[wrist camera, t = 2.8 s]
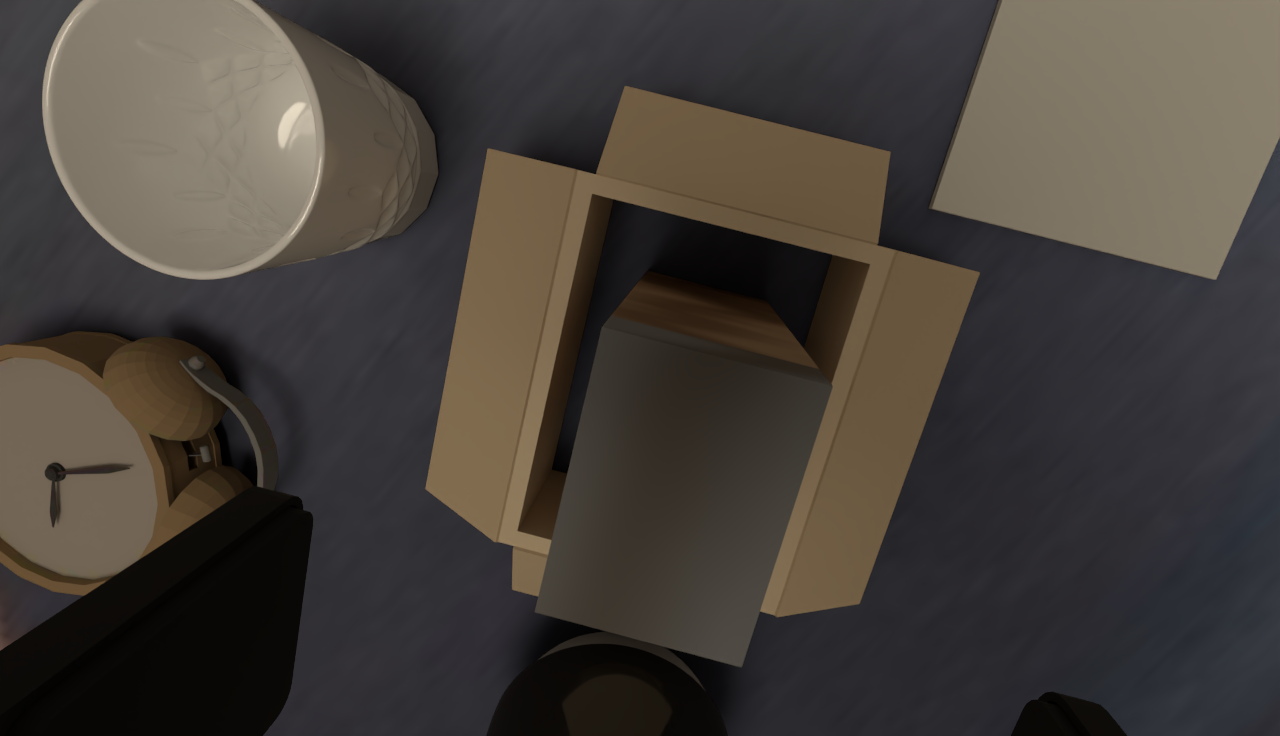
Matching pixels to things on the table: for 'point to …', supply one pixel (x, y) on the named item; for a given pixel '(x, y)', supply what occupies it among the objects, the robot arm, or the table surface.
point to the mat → (1120, 125)
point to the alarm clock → (112, 452)
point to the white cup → (228, 137)
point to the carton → (725, 196)
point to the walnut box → (683, 469)
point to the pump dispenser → (606, 693)
